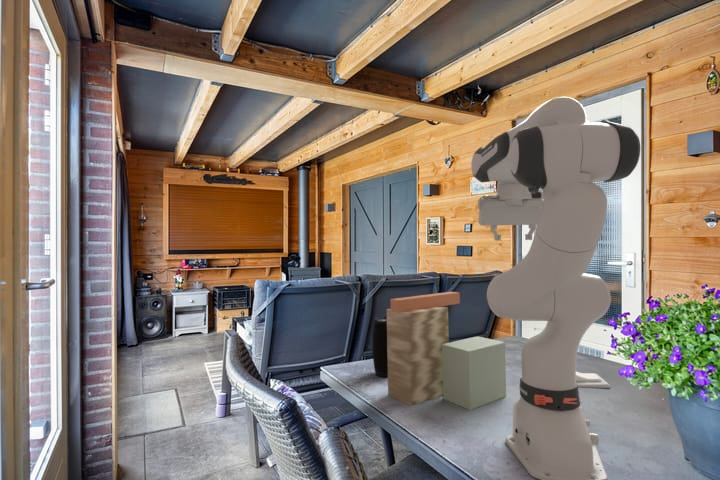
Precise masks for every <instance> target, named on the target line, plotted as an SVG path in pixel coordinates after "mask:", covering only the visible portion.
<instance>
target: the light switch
mask: <svg viewBox="0 0 720 480" xmlns="http://www.w3.org/2000/svg"><path fill="white" fill-rule="evenodd" d="M576 384H577V386H578V388H592V387H593V388H594V389H595V388H596V389H598V388H599V389H611V388H612V387H611V385H610V384H609V383H608V382H607V381H606V380H605V379H603V377H602V376H600V375H599V374H597V373H596V372H594V373H593V372H592V373H588V372H587V373H585V372H583V373H582V372H580V371H576Z"/></svg>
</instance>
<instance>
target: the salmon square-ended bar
mask: <svg viewBox="0 0 720 480" xmlns="http://www.w3.org/2000/svg"><path fill="white" fill-rule="evenodd" d="M460 297H461V294H460V292H457V291H448V292H447V291H446V292H439V293H430V294H428V293H427V294H421V295H413V296H404V297H395V298H390V309H391V311H393V312H398V313H399V312H405V311H412V310H419V309H426V308H432V307H439V306H441V307H446V306H451V305H457V304H459V305H460V303H461V298H460Z"/></svg>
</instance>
